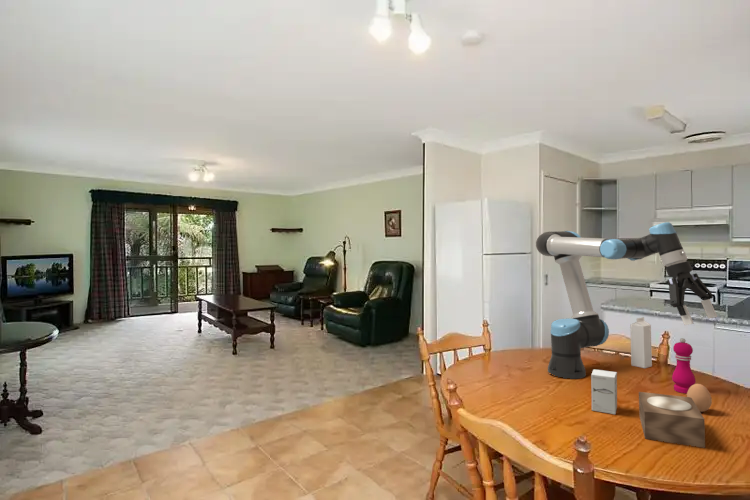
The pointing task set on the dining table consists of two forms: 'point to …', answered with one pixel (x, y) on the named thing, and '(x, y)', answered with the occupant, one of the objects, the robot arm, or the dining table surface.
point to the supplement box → (604, 391)
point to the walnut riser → (671, 419)
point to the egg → (700, 397)
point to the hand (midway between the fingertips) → (701, 321)
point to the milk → (641, 344)
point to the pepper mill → (683, 367)
